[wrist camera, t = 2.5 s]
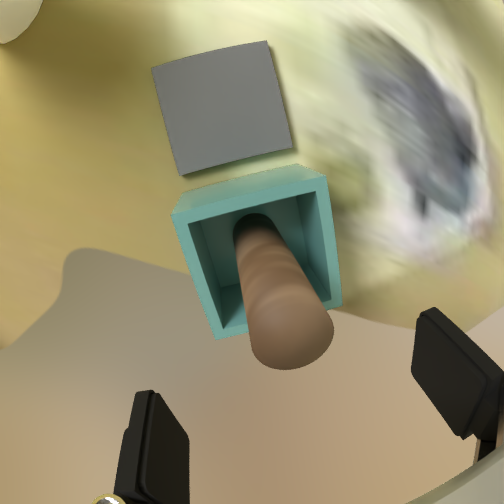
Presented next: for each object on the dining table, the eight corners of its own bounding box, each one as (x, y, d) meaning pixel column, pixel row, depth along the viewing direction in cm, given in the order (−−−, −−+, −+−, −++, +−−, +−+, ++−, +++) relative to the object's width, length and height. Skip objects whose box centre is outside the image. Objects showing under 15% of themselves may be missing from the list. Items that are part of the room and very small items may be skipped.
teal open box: (297, 163, 21) (325, 175, 16) (315, 266, 24) (342, 305, 19) (182, 192, 21) (170, 214, 15) (214, 293, 24) (215, 340, 19)
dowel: (271, 208, 21) (330, 293, 10) (280, 248, 23) (336, 356, 12) (227, 219, 21) (242, 317, 10) (238, 259, 23) (261, 377, 12)
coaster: (265, 42, 17) (266, 40, 17) (290, 146, 21) (292, 147, 20) (152, 69, 17) (151, 68, 17) (180, 174, 20) (179, 175, 20)
